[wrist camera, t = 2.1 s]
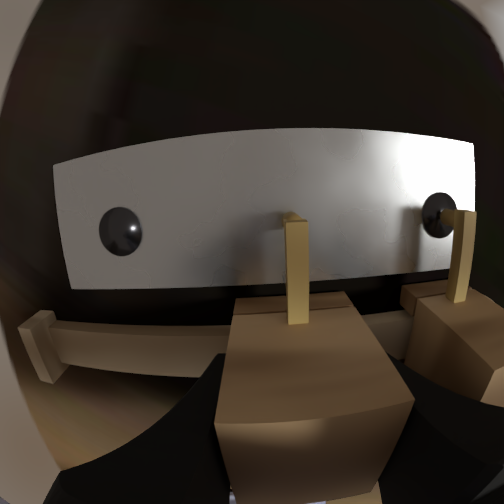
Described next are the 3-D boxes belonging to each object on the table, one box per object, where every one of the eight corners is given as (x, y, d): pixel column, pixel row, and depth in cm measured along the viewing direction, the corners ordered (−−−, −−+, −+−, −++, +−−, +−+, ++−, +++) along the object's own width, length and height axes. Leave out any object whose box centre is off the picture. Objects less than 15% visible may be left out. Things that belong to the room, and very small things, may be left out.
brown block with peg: (335, 381, 11) (370, 491, 6) (245, 388, 11) (237, 506, 6) (345, 207, 9) (449, 250, 4) (228, 212, 10) (185, 266, 4)
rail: (473, 338, 11) (493, 357, 9) (59, 359, 12) (40, 380, 10) (486, 285, 10) (510, 300, 8) (40, 309, 11) (17, 327, 9)
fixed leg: (436, 360, 11) (497, 439, 5) (386, 372, 11) (438, 469, 5) (463, 204, 9) (574, 235, 3) (406, 203, 9) (528, 239, 4)
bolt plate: (463, 263, 10) (470, 266, 10) (76, 285, 11) (70, 289, 10) (467, 144, 9) (474, 143, 8) (58, 165, 9) (51, 165, 9)
